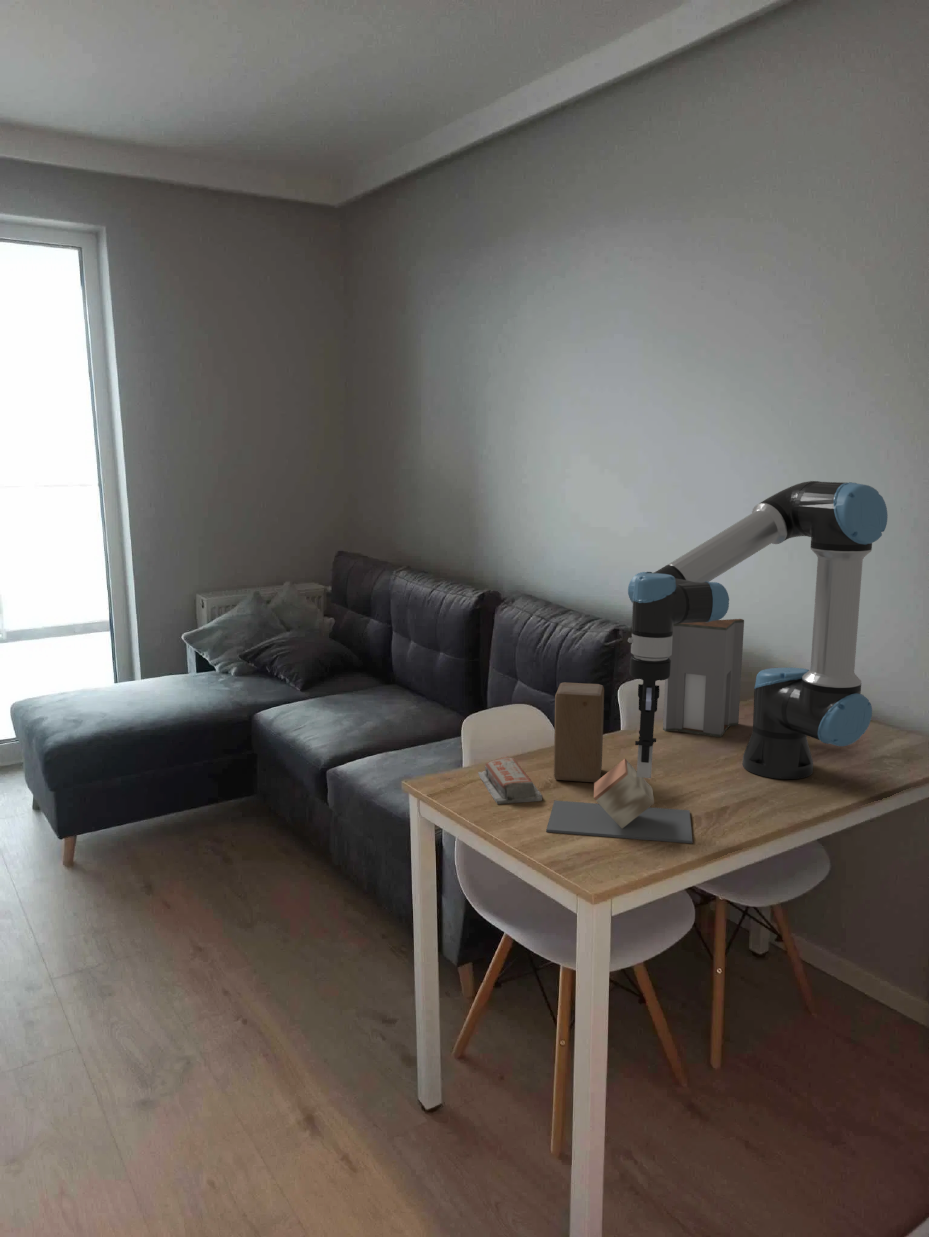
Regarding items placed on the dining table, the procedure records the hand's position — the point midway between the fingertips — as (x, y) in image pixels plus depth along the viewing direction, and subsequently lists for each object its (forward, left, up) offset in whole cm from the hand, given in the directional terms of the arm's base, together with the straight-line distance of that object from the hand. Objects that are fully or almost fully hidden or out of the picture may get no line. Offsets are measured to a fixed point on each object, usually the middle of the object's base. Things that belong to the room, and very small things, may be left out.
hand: (643, 776), depth 181 cm
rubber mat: (+4, 0, -10) cm, 11 cm away
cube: (+1, 0, -7) cm, 7 cm away
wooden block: (+14, -25, -10) cm, 31 cm away
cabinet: (-16, -63, -10) cm, 66 cm away
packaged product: (+28, -15, -10) cm, 33 cm away
